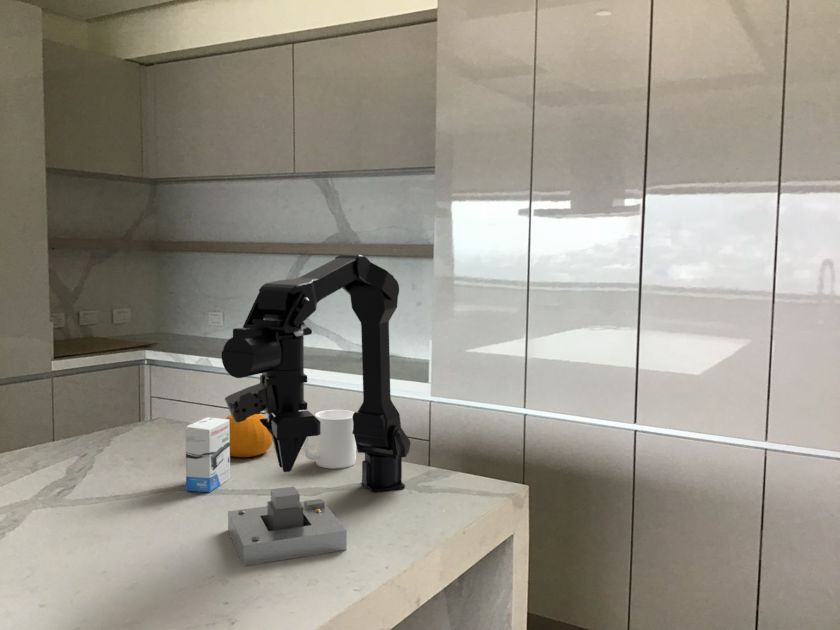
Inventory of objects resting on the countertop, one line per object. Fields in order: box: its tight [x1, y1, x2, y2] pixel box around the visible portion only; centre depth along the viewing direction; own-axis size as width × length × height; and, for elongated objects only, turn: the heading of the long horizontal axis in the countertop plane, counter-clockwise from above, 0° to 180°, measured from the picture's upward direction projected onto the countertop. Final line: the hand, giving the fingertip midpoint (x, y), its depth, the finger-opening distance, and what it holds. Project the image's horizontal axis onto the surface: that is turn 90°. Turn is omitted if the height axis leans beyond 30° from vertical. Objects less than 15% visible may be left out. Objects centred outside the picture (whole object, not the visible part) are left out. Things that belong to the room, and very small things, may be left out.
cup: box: [301, 409, 357, 470], centre depth 151 cm, size 8×12×10 cm
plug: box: [266, 486, 303, 531], centre depth 113 cm, size 4×4×7 cm
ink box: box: [184, 416, 231, 493], centre depth 138 cm, size 8×5×12 cm, turn 168°
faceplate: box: [227, 498, 348, 567], centre depth 114 cm, size 15×14×4 cm
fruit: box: [225, 413, 273, 458], centre depth 158 cm, size 12×12×10 cm
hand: (284, 469), depth 113 cm, fingers open, 2 cm apart
